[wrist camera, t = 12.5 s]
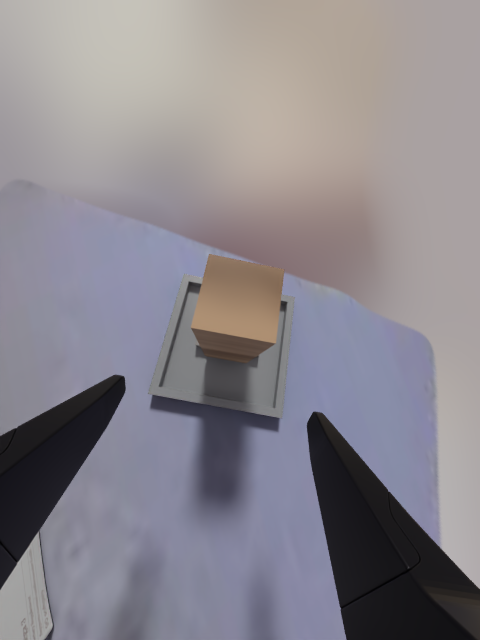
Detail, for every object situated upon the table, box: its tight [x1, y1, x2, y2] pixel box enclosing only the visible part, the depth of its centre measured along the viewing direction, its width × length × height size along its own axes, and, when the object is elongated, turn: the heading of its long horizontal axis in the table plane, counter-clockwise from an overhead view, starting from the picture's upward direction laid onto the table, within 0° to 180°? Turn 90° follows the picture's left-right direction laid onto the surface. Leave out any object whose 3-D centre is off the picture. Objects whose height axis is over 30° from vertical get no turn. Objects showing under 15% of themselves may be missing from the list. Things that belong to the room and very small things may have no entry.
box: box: [148, 274, 295, 418], centre depth 23 cm, size 14×14×2 cm
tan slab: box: [191, 254, 284, 363], centre depth 17 cm, size 4×7×13 cm, turn 81°
